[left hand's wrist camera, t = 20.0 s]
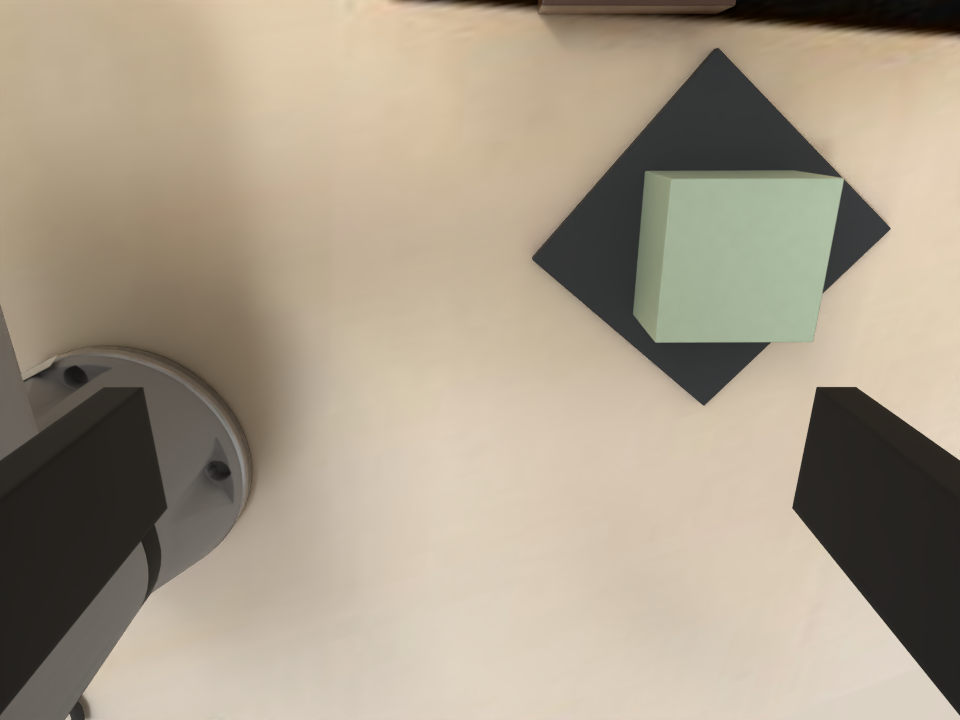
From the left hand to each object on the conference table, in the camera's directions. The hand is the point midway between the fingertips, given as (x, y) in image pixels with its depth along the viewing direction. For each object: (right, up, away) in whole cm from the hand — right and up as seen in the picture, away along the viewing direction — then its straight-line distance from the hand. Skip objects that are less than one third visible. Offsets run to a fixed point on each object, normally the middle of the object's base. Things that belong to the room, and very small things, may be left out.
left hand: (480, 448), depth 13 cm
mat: (+13, +8, +23) cm, 28 cm away
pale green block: (+13, +8, +23) cm, 27 cm away
